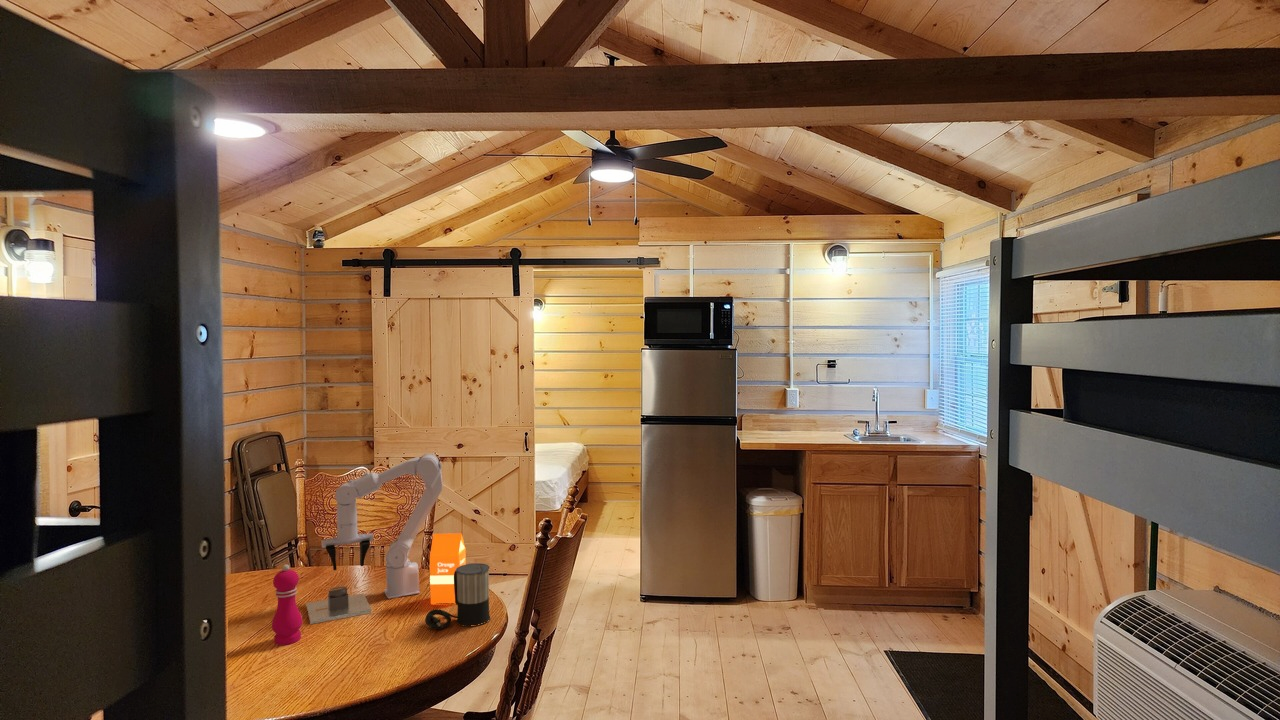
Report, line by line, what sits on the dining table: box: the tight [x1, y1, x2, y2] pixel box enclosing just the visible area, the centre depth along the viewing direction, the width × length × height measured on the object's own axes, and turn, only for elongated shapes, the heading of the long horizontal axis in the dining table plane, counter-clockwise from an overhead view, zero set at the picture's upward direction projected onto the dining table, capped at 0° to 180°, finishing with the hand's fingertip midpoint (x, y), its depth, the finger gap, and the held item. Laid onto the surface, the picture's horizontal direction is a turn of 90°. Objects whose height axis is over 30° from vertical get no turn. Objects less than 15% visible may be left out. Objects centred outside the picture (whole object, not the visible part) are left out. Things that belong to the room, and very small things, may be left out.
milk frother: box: [424, 562, 491, 630], centre depth 194 cm, size 14×16×15 cm
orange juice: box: [429, 533, 467, 605], centre depth 213 cm, size 8×9×20 cm
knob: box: [327, 586, 349, 611], centre depth 206 cm, size 5×5×5 cm
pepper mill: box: [271, 564, 303, 646], centre depth 185 cm, size 7×7×20 cm
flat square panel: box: [305, 592, 372, 625], centre depth 207 cm, size 16×16×4 cm
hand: (348, 567), depth 216 cm, fingers open, 7 cm apart
